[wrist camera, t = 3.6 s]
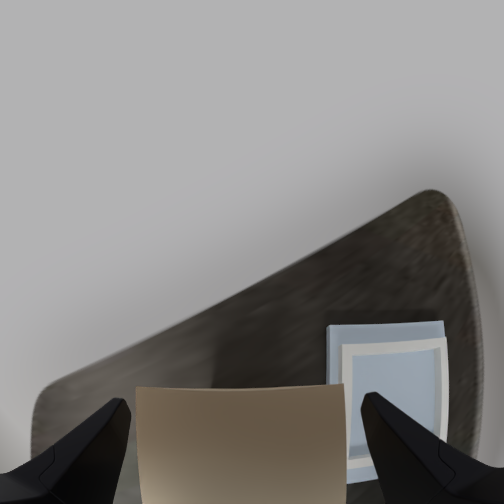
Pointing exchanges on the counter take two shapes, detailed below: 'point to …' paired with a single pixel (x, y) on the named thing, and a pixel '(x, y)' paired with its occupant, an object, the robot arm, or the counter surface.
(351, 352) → the board
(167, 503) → the birch pillar
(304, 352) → the counter surface
